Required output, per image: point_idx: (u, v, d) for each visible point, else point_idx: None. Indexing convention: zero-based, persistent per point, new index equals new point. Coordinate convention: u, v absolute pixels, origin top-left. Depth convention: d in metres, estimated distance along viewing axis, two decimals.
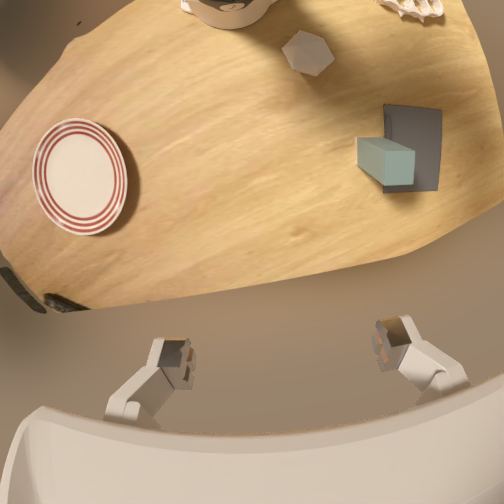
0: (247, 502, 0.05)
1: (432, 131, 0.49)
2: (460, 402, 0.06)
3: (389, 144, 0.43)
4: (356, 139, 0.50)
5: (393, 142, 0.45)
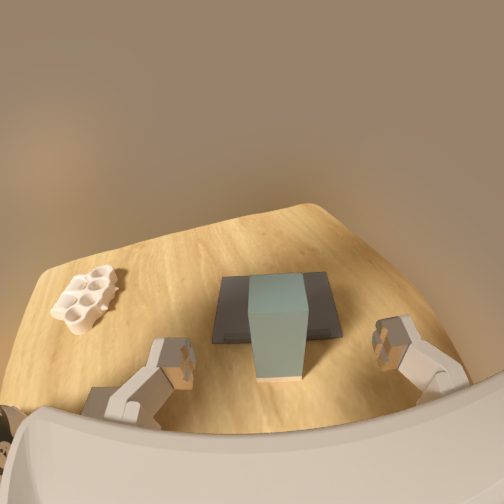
0: (247, 502, 0.05)
1: None
2: (460, 402, 0.06)
3: None
4: (260, 378, 0.35)
5: None
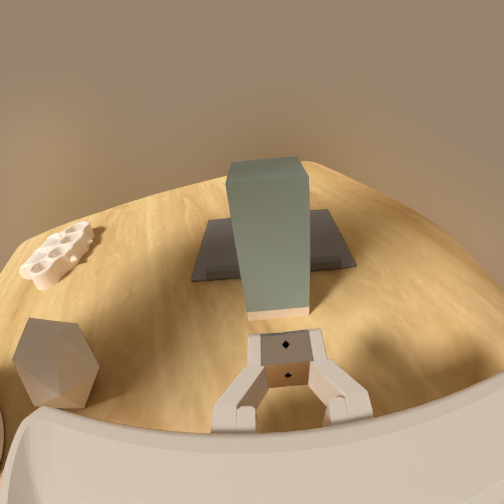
0: (247, 502, 0.05)
1: None
2: (460, 402, 0.06)
3: None
4: (252, 313, 0.27)
5: None
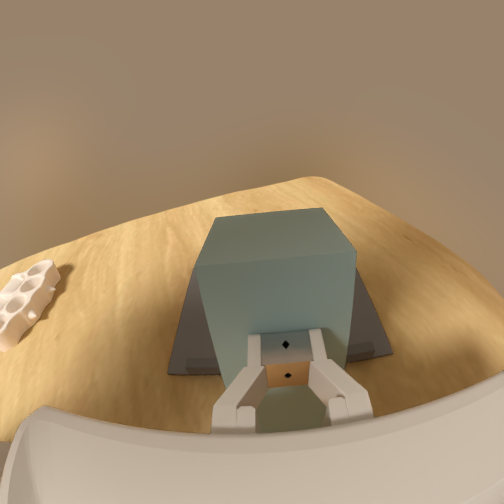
0: (247, 502, 0.05)
1: None
2: (460, 402, 0.06)
3: None
4: None
5: None
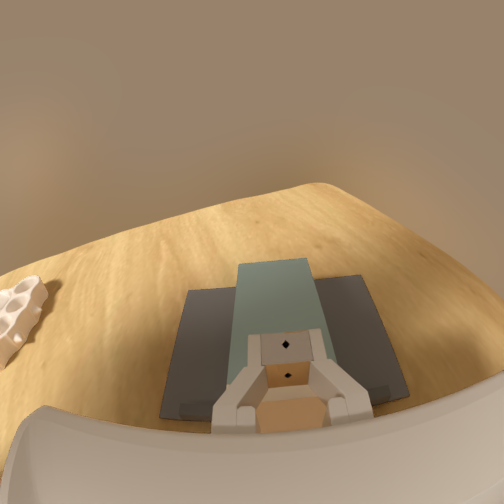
0: (247, 502, 0.05)
1: (232, 305, 0.29)
2: (460, 402, 0.06)
3: None
4: None
5: None
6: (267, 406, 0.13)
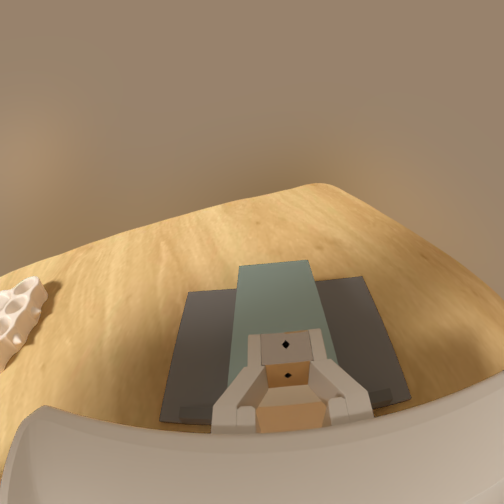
0: (247, 502, 0.05)
1: (232, 307, 0.29)
2: (460, 402, 0.06)
3: None
4: None
5: None
6: (268, 411, 0.12)
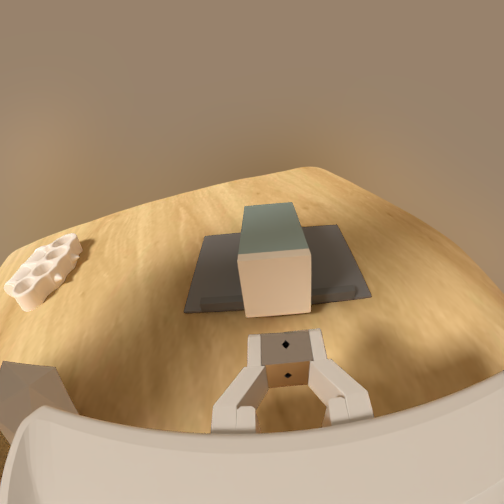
0: (247, 502, 0.05)
1: (238, 243, 0.40)
2: (460, 402, 0.06)
3: None
4: (243, 255, 0.24)
5: None
6: (263, 264, 0.23)
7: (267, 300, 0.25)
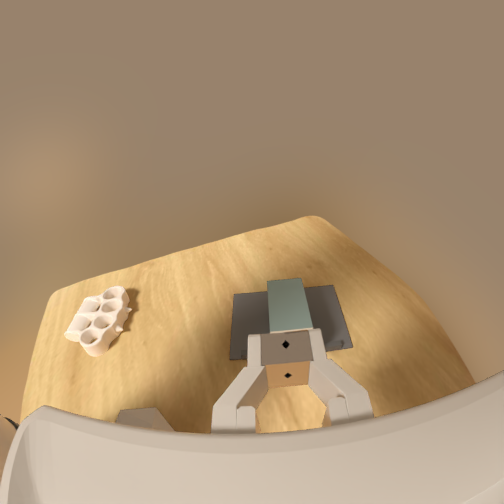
0: (247, 502, 0.05)
1: (260, 302, 0.54)
2: (460, 402, 0.06)
3: None
4: (273, 332, 0.38)
5: None
6: None
7: None
